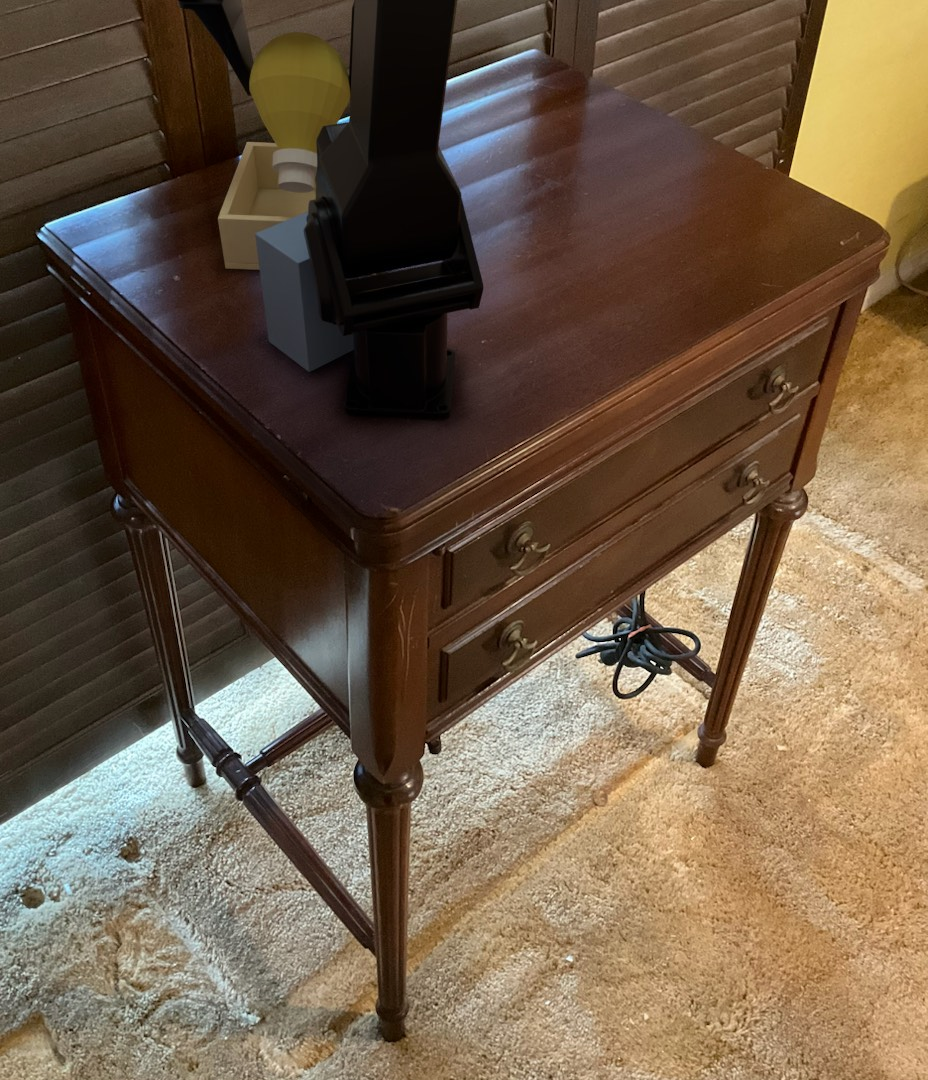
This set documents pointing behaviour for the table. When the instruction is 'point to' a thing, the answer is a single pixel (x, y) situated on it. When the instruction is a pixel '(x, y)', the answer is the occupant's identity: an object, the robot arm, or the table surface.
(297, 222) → the blue block
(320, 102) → the light bulb
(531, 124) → the table surface
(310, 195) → the cream bin
